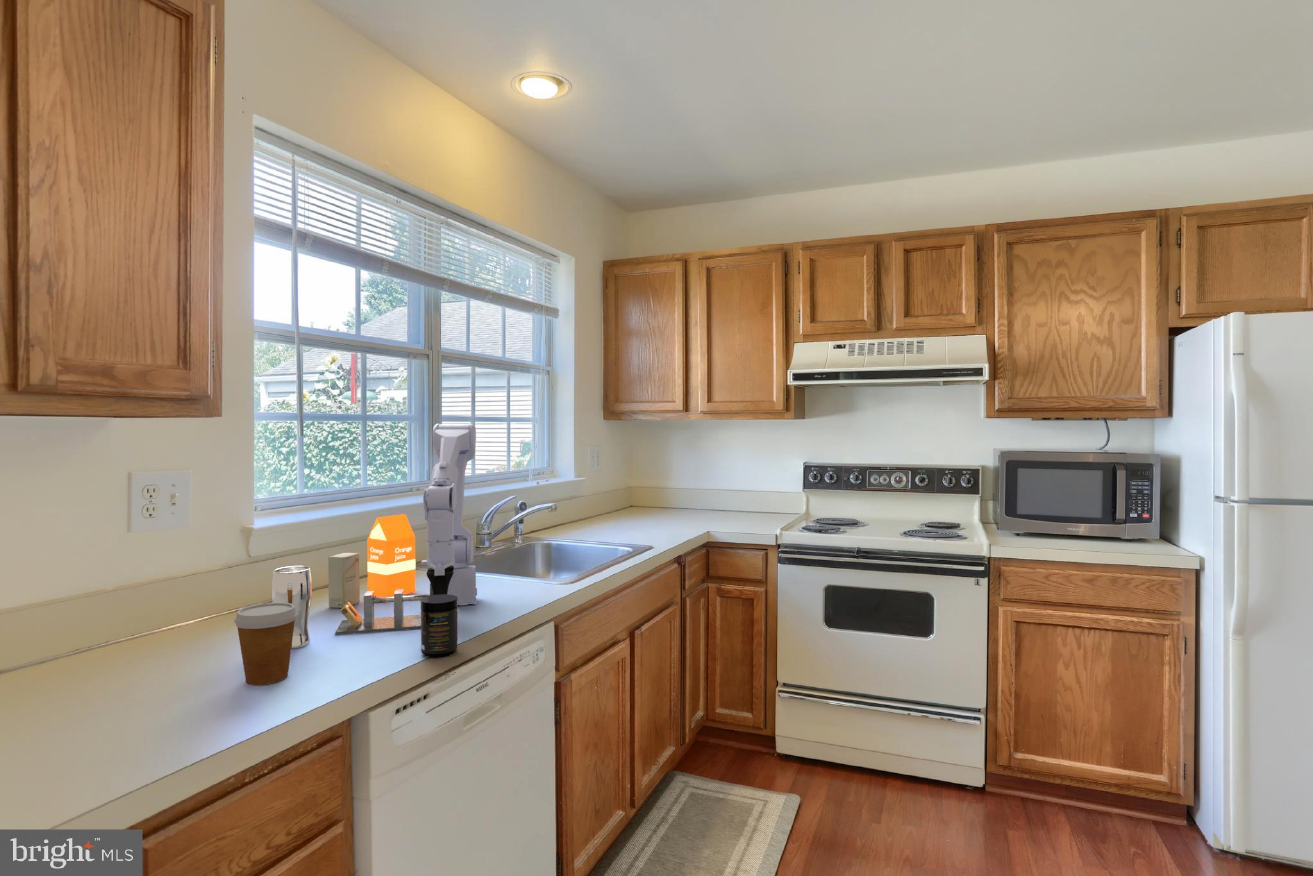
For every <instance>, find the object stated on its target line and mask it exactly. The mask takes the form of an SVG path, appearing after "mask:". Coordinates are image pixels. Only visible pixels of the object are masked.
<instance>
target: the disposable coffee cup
mask: <svg viewBox="0 0 1313 876" xmlns="http://www.w3.org/2000/svg"><path fill="white" fill-rule="evenodd" d="M297 615H298V612H297V611H296V609H295V606H294V605H293V604H290V603H273V602H269V603H267V602H266V603H259V604H254V605H250V606H246V607H243V608H241V609H239V610H237V612H236V616H235V618H234V620H233V622H234V624H235V626H236V627H237V632H238V633H237V634H238V640H239V646H240V651H241V652H240V654H241V657H242V665H243V670H244V677H245V683H246V684H247V685H251V686H265V685H271V684H275V683H279V682H281V681H284V680H285V679H287V678H288V677H289V670H290V669H289V667H290V661H291V655H292V649H291V647H292V639H293V631H294V622H295V619H296V616H297Z"/></svg>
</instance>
